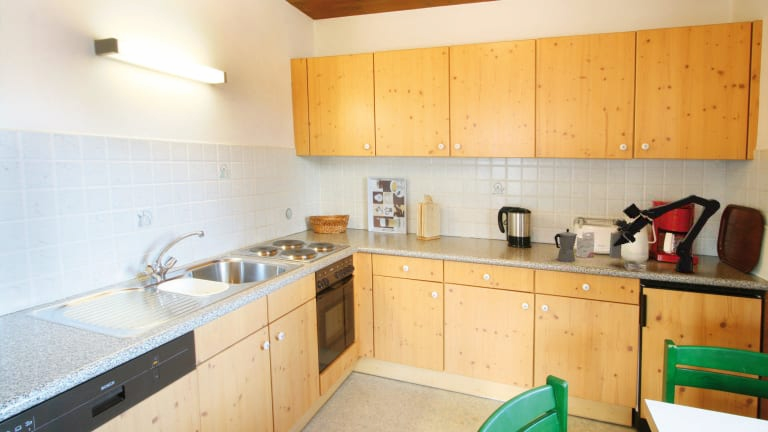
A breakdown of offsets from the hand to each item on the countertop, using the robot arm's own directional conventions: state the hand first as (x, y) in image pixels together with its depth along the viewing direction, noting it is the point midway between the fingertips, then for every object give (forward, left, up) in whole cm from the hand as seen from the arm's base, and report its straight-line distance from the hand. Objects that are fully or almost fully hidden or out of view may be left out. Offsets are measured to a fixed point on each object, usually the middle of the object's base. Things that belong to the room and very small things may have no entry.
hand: (612, 245), depth 240 cm
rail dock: (-8, +8, -11) cm, 16 cm away
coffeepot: (+22, -10, -11) cm, 26 cm away
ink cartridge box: (+7, -21, -11) cm, 25 cm away
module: (-1, 0, -7) cm, 7 cm away
